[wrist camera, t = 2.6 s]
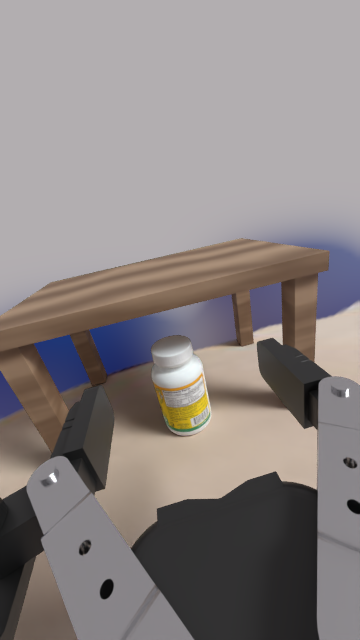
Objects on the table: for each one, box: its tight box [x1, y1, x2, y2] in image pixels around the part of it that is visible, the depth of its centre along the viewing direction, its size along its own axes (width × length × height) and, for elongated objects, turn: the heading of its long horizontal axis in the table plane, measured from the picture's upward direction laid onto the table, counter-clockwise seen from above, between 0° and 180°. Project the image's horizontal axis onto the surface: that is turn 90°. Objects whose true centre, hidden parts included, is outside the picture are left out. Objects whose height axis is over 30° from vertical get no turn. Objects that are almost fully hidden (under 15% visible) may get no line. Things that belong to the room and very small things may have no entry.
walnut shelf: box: [0, 238, 329, 453], centre depth 28 cm, size 17×27×16 cm, turn 100°
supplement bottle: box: [151, 335, 211, 436], centre depth 25 cm, size 5×5×10 cm
